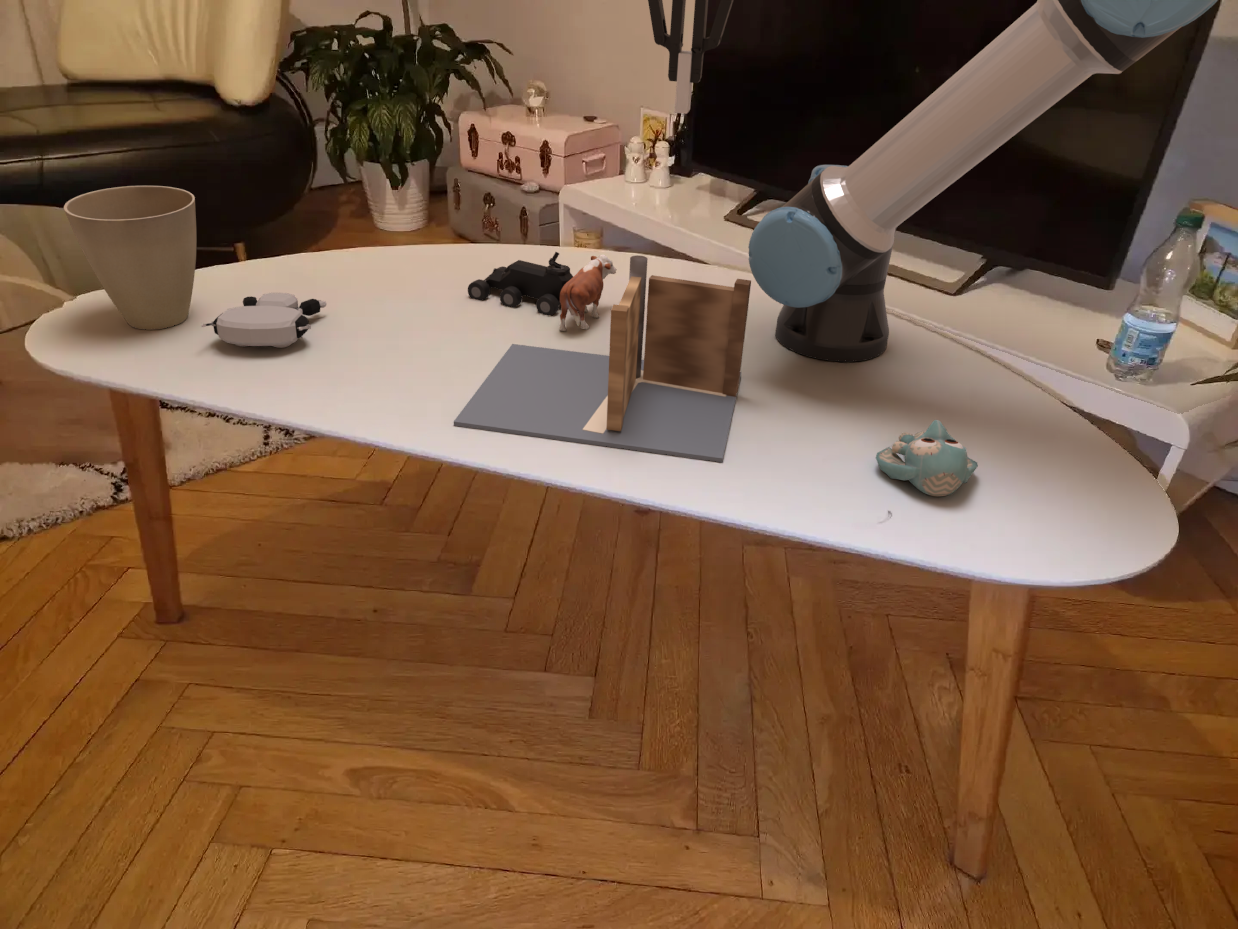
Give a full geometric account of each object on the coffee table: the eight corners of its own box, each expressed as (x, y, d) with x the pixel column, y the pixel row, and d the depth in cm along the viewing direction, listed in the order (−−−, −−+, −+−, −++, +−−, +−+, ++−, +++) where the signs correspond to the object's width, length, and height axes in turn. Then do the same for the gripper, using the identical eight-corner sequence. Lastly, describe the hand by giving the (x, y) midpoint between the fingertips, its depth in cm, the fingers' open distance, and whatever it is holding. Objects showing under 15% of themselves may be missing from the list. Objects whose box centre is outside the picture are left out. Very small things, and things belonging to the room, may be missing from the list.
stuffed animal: (966, 403, 102) (1008, 438, 90) (955, 464, 104) (995, 506, 93) (868, 398, 102) (898, 433, 90) (859, 460, 104) (888, 501, 93)
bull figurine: (619, 307, 136) (621, 253, 131) (577, 339, 125) (578, 281, 121) (592, 301, 137) (594, 247, 133) (548, 333, 127) (548, 275, 122)
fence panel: (624, 378, 114) (629, 267, 106) (637, 379, 113) (643, 269, 106) (606, 429, 102) (611, 309, 95) (620, 431, 102) (626, 311, 95)
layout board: (740, 375, 118) (741, 371, 117) (722, 462, 99) (722, 457, 99) (512, 347, 122) (512, 343, 122) (453, 425, 104) (453, 420, 103)
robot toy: (244, 318, 129) (203, 355, 116) (240, 286, 127) (197, 320, 114) (333, 321, 130) (302, 359, 116) (330, 289, 128) (298, 324, 114)
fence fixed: (622, 381, 115) (628, 259, 107) (627, 374, 116) (633, 254, 108) (734, 401, 111) (749, 277, 103) (737, 394, 113) (752, 271, 105)
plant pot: (75, 319, 124) (42, 199, 116) (182, 291, 134) (158, 179, 126) (129, 352, 116) (97, 226, 108) (238, 320, 126) (217, 202, 118)
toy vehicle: (555, 322, 132) (558, 263, 127) (465, 299, 137) (464, 241, 132) (581, 304, 138) (584, 247, 134) (494, 282, 143) (494, 226, 139)
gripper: (632, -126, 97) (623, 112, 109) (757, -120, 95) (733, 121, 107) (645, -123, 103) (634, 101, 116) (762, -118, 102) (739, 109, 114)
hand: (682, 110), depth 112 cm, fingers closed
